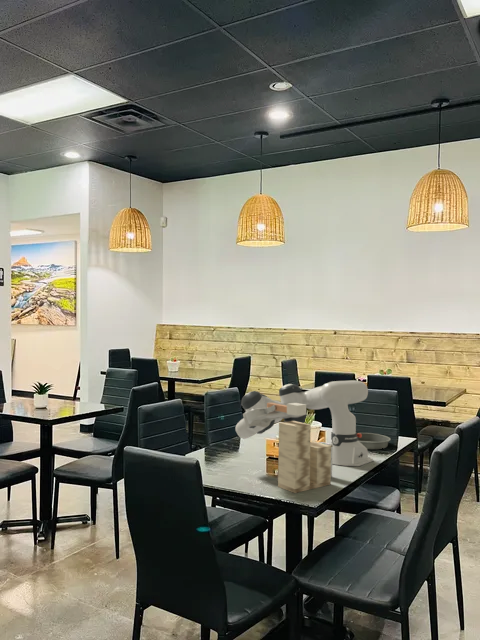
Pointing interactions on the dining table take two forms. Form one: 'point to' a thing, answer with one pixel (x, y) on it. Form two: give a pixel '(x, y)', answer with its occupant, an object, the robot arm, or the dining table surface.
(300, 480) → the stepped wooden stack
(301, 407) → the block hammer
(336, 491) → the dining table surface
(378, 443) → the cake pan
